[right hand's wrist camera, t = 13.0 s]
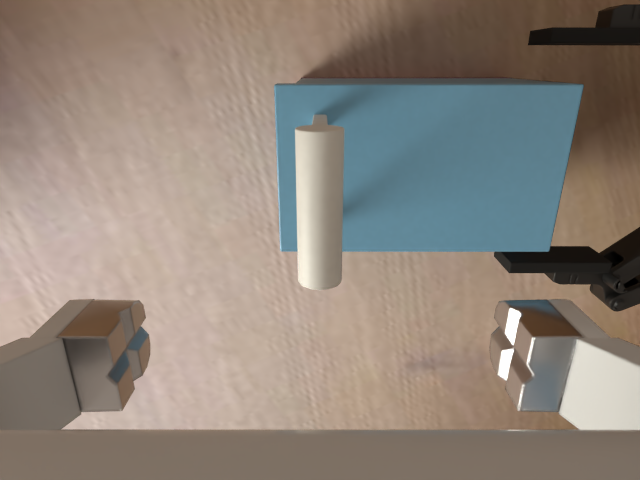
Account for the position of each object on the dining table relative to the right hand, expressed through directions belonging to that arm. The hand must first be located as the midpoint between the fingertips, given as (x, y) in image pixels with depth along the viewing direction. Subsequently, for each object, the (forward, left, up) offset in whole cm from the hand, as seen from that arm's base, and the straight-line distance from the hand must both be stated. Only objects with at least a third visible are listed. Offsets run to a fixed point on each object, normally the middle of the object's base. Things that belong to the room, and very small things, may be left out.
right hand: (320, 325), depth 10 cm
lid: (+3, +4, -16) cm, 17 cm away
